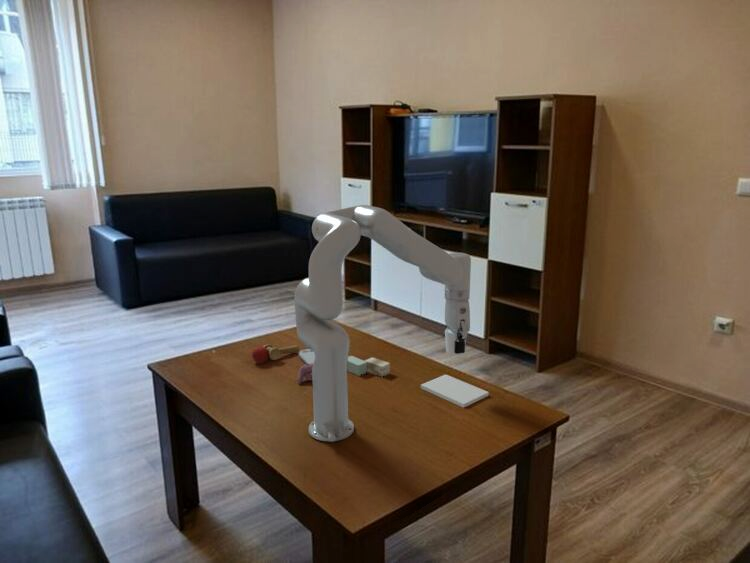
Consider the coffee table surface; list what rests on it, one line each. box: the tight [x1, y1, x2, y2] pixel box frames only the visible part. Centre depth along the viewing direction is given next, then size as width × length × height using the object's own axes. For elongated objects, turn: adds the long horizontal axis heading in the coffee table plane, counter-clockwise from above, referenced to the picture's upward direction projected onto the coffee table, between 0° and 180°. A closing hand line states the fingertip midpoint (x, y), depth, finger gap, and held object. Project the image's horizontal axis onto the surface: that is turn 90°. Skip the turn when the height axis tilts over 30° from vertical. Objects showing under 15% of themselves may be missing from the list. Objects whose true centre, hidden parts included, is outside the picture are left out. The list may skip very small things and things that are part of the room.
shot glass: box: [444, 327, 467, 356], centre depth 183 cm, size 7×7×7 cm
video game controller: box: [297, 363, 313, 385], centre depth 195 cm, size 10×5×7 cm, turn 86°
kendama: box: [251, 344, 300, 364], centre depth 214 cm, size 8×6×18 cm
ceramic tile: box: [420, 374, 490, 409], centre depth 187 cm, size 18×12×1 cm, turn 41°
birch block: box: [364, 357, 391, 378], centre depth 202 cm, size 8×4×4 cm, turn 49°
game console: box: [298, 348, 315, 365], centre depth 211 cm, size 18×2×8 cm
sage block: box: [347, 355, 368, 376], centre depth 203 cm, size 8×4×4 cm, turn 44°
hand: (455, 348), depth 183 cm, fingers closed on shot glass, 6 cm apart
